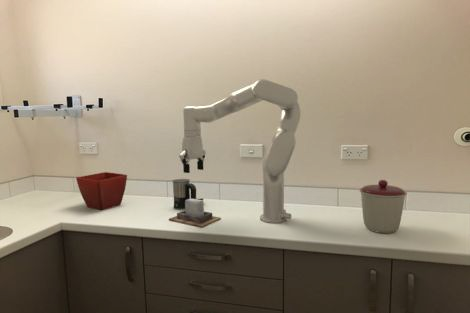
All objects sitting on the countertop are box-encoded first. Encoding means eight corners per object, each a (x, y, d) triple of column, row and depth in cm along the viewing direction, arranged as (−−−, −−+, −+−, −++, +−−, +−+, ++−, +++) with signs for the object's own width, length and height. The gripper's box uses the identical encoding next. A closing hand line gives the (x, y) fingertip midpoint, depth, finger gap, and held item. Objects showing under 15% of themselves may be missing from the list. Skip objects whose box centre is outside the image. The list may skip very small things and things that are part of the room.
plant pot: (100, 213, 172) (98, 180, 170) (77, 208, 182) (75, 177, 180) (129, 204, 188) (128, 174, 186) (107, 200, 198) (105, 172, 196)
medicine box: (204, 218, 158) (203, 200, 157) (198, 220, 154) (197, 202, 153) (191, 215, 162) (190, 198, 161) (185, 218, 159) (184, 200, 158)
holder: (220, 219, 159) (220, 212, 158) (201, 227, 147) (201, 220, 147) (188, 213, 170) (188, 206, 169) (168, 220, 158) (168, 213, 158)
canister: (410, 228, 143) (413, 179, 141) (397, 240, 130) (399, 186, 127) (367, 219, 155) (369, 174, 152) (351, 230, 142) (352, 180, 139)
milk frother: (170, 209, 178) (169, 181, 176) (182, 201, 193) (181, 176, 191) (195, 210, 174) (194, 182, 172) (205, 202, 189) (205, 176, 188)
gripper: (198, 132, 163) (199, 167, 165) (173, 135, 149) (174, 173, 151) (210, 133, 159) (211, 169, 161) (185, 135, 145) (187, 174, 147)
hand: (193, 171), depth 156 cm, fingers open, 9 cm apart
